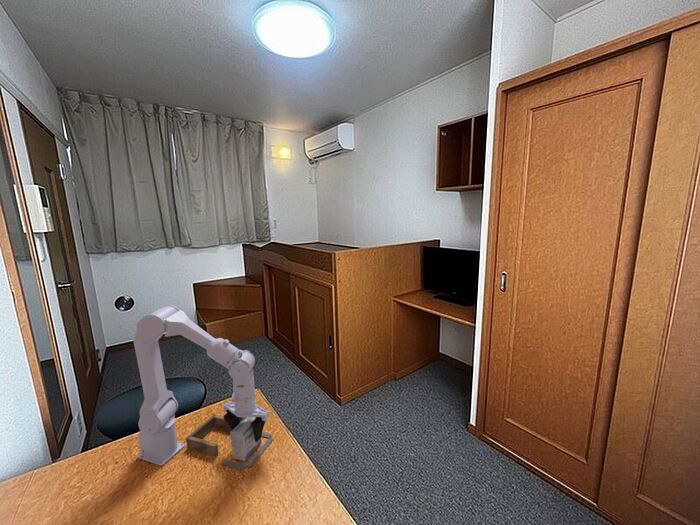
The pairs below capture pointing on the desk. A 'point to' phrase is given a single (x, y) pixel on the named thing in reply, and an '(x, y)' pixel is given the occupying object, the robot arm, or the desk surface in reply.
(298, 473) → the desk surface
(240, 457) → the medicine box
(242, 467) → the frame
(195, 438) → the walnut shelf
